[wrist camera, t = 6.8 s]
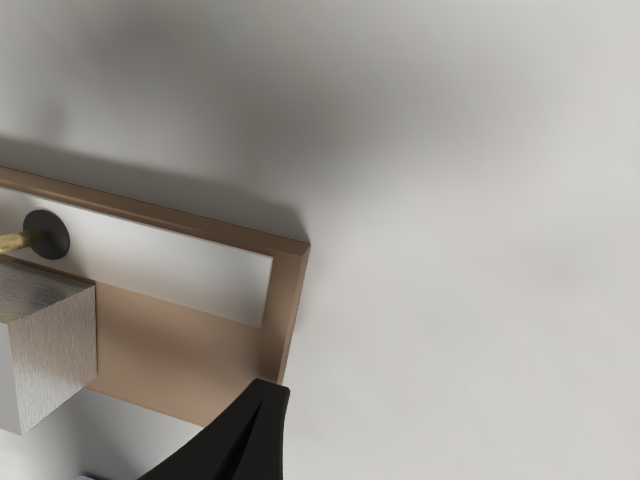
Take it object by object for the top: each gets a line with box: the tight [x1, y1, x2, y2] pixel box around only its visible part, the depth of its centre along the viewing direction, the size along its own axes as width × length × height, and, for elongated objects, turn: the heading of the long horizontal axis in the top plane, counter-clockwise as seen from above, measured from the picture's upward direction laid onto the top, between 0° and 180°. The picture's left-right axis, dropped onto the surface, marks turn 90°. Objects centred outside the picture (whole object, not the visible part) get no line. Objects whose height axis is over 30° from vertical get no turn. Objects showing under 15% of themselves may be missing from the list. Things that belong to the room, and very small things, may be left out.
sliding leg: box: [0, 229, 97, 436], centre depth 11 cm, size 7×4×3 cm, turn 168°
